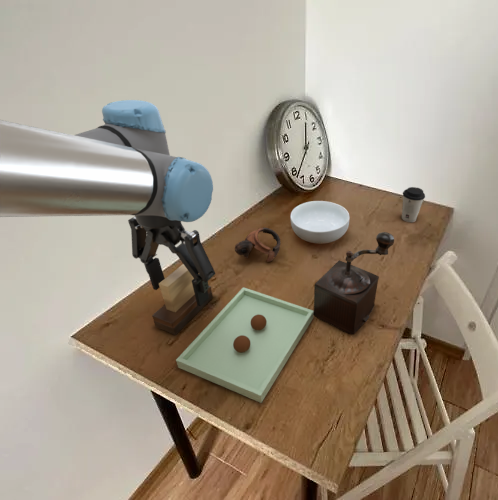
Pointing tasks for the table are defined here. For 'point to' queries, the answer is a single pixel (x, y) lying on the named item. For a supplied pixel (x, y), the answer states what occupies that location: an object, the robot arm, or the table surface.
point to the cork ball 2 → (258, 322)
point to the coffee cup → (412, 203)
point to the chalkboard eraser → (177, 301)
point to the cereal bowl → (319, 221)
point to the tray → (261, 344)
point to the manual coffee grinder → (349, 290)
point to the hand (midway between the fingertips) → (181, 293)
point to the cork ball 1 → (241, 344)
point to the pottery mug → (258, 244)
